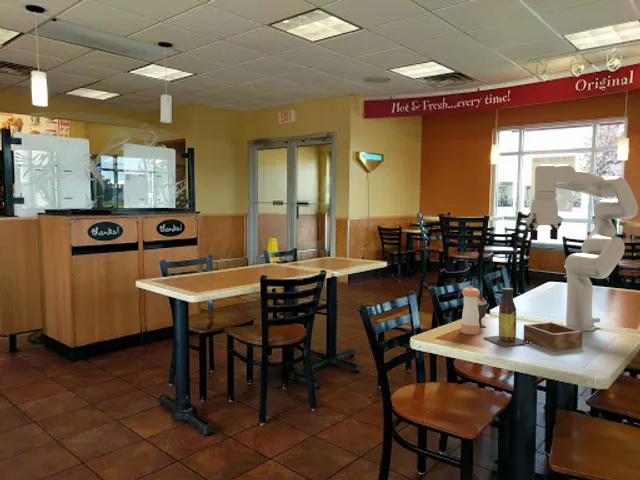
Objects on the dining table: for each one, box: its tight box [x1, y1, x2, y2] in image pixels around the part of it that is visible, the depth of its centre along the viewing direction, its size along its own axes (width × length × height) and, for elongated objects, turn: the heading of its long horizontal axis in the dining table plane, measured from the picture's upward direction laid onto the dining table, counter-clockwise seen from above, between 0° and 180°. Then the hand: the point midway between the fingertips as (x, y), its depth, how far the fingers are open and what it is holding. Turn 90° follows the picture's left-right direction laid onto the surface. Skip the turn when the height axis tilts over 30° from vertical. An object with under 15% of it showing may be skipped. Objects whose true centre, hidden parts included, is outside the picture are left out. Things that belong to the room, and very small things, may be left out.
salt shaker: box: [460, 285, 481, 335], centre depth 197 cm, size 7×7×19 cm
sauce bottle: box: [498, 287, 517, 342], centre depth 183 cm, size 7×6×20 cm
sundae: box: [478, 292, 489, 329], centre depth 205 cm, size 7×7×15 cm
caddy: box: [523, 321, 583, 352], centre depth 180 cm, size 13×15×6 cm
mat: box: [482, 335, 532, 348], centre depth 184 cm, size 12×12×1 cm
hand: (543, 239), depth 191 cm, fingers open, 9 cm apart
